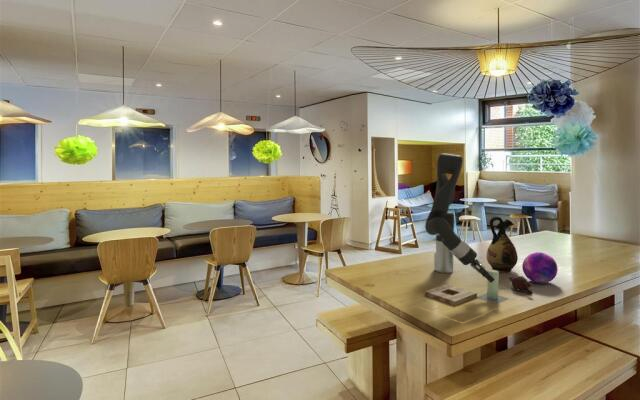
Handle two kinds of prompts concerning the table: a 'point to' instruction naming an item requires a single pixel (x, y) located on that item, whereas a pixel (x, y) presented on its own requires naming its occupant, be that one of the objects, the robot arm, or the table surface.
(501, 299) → the mat
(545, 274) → the decorative orb
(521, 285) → the icecream
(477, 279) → the table surface
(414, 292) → the table surface
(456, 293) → the pocket block
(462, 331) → the table surface
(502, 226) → the ceramic jug
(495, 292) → the ball
